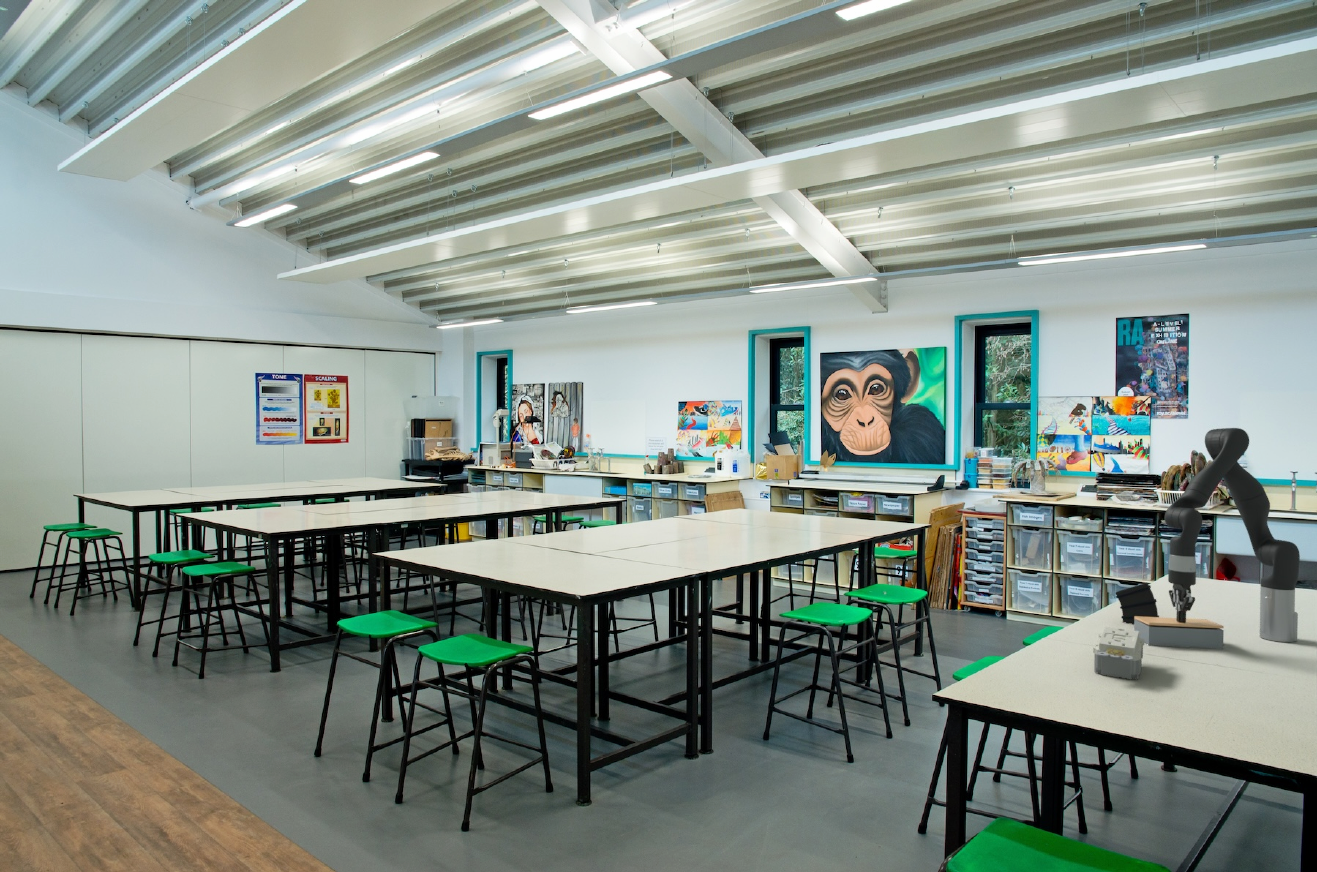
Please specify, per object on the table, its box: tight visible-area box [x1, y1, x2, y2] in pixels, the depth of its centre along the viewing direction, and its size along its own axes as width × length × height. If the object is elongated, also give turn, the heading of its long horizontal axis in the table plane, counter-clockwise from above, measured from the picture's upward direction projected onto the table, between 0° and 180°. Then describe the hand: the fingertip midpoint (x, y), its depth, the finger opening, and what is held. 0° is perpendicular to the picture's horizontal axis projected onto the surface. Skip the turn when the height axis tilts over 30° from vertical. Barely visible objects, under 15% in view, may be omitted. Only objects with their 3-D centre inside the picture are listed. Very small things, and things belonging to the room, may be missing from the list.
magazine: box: [1115, 582, 1160, 625], centre depth 291 cm, size 4×13×15 cm, turn 52°
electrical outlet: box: [1092, 626, 1145, 680], centre depth 234 cm, size 12×28×10 cm, turn 146°
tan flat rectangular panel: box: [1134, 616, 1225, 629], centre depth 265 cm, size 22×11×1 cm, turn 81°
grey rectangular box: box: [1133, 619, 1225, 650], centre depth 265 cm, size 22×11×6 cm, turn 81°
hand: (1181, 622), depth 263 cm, fingers closed
